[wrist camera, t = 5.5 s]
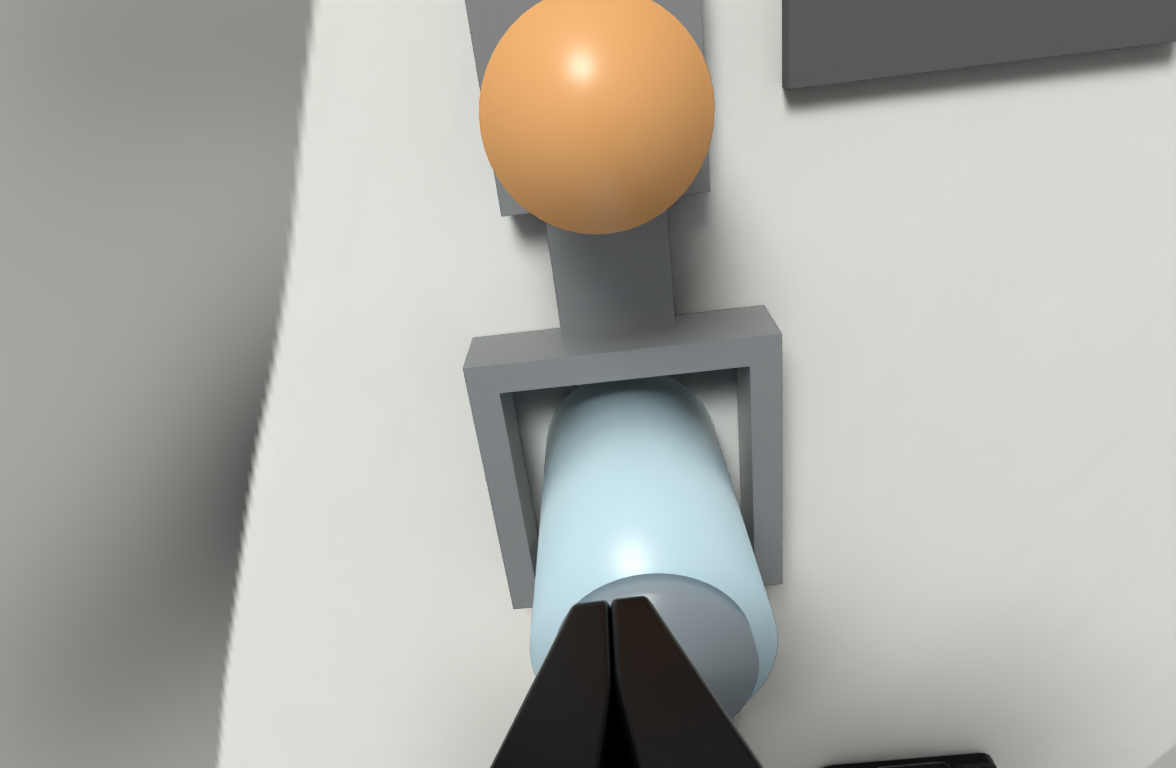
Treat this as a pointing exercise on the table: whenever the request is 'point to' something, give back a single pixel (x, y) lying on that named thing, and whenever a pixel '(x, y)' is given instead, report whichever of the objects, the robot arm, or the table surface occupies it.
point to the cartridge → (651, 529)
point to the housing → (619, 348)
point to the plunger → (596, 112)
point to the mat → (954, 34)
